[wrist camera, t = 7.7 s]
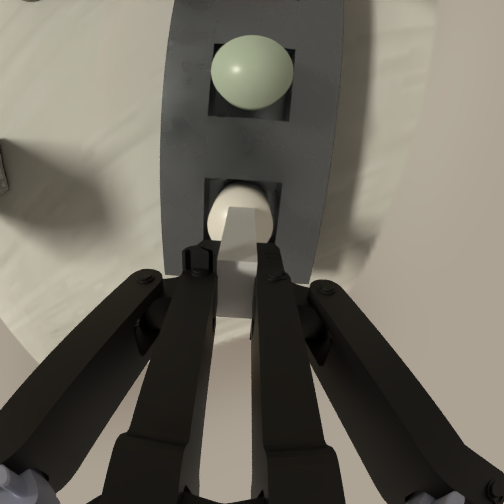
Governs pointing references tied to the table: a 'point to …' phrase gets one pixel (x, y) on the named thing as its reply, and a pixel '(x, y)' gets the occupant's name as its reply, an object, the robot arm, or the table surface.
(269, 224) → the white glossy ball
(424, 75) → the table surface
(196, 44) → the panel
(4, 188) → the skincare box
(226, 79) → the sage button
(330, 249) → the table surface
